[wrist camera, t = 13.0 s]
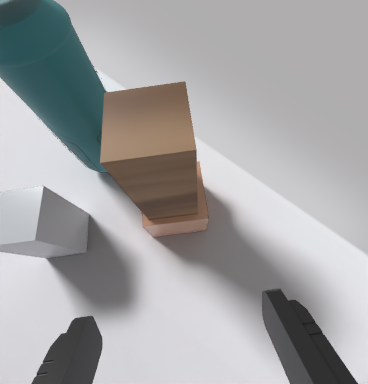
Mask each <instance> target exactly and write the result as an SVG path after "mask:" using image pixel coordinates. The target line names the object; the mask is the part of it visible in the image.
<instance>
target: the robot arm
mask: <svg viewBox="0 0 368 384" xmlns="http://www.w3.org/2000/svg"><path fill="white" fill-rule="evenodd" d="M262 315H263V320H264V324H265V327H266V329H267V331H268V334H269V336H270V338H271V341H272V343H273V345H274V348H275V350H276V352H277V354H278V357H279V359H280V361H281V364H282V366H283V368H284V371H285V373H286V375H287V377H288V380H289V382H290V384H358V383H357V382H356V380H355V379H354V378H353V376H352V375H351V373H350V372H349V370H348V369H347V368H346V366H345V365H344V363H343V362H342V360H341V359H340V357H339V356H338V354H337V353H336V351H335V350H334V348H333V347H332V346H331V344H330V343H329V341H328V340H327V338H326V337H325V335H323V333H322V331H321V329H320V328H319V326H318V325H317V324H316V323H315V321H314V319H313V318H312V316H311V315H310V313H309V312H308V310H307V309H306V308H305V307H303V306H302V305H301V304H300V303H299V302H297V301H296V300H289V301H288V300H287V298H286V297H285V295H284V294H283V292H282V291H281V289H272V290H265V291H263V293H262ZM101 351H102V336H101V334H100V331H99V329H98V327H97V324H96V322H95V320H94V318H93V316H87V317H80V318H75V319H74V320H73V321H72V322H71V324H70V326H69V328H68V330H67V333H63V334H61V335H60V336H59V337H58V338H57V340H56V341H55V342H54V343H53V344H52V346H51V347H50V349H49V351H48V353H47V355H46V357H45V358H44V360H43V364H41V366H40V368H39V370H38V372H37V376H36V377H35V378H34V380H33V382H32V384H92V383H93V379H94V376H95V372H96V369H97V365H98V362H99V359H100V355H101Z"/></svg>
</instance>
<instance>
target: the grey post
mask: <svg viewBox="0 0 368 384" xmlns="http://www.w3.org/2000/svg"><path fill="white" fill-rule="evenodd" d="M88 224H89V214H88V213H87V212H85V211H84V210H82V209H80V208H79V207H77V206H75V205H74V204H72V203H71V202H69V201H67V200H66V199H64V198H62V197H61V196H59V195H58V194H56V193H54V192H53V191H51V190H49V189H48V188H46V187H45V186H39V187H32V188H24V189H17V190H9V191H2V192H0V252H5V253H12V254H19V255H26V256H33V257H41V258H52V257H60V256H67V255H74V254H82V253H87V241H88Z"/></svg>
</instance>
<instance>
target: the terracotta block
mask: <svg viewBox="0 0 368 384" xmlns="http://www.w3.org/2000/svg"><path fill="white" fill-rule="evenodd" d="M197 197H198V214H192V215H184V216H176V217H168V218H161V219H153V220H148V218H147V217H146V216H145V215H144V214H143V213H142V221H143V228H144V229H145V230H146V231H147V232H148V233H149V234H150V235H151V236H152V237H158V236H166V235H174V234H182V233H190V232H198V231H206V229H207V225H208V220H209V216H208V210H207V204H206V198H205V192H204V186H203V180H202V175H201V169H200V163H199V162H197Z"/></svg>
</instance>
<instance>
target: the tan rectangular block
mask: <svg viewBox="0 0 368 384" xmlns="http://www.w3.org/2000/svg"><path fill="white" fill-rule="evenodd" d="M100 163H101V164H102V166H103V167H104V168H105V169H106V170H107V171H108V173H109V174H110V175H111V176H112V177H113V179H114V180H115V181H116V182H117V183H118V184H119V186H120V187H121V188H122V189H123V190H124V191H125V193H126V194H127V195H128V196H129V197H130V198H131V200H132V201H133V202H134V203H135V204H136V206H137V207H138V208H139V209H140V210H141V211H142V213H143V214H144V215H145V216H146V217H147V218H148V220H153V219H161V218H168V217H176V216H184V215H192V214H198V197H197V158H196V145H195V139H194V133H193V126H192V121H191V114H190V108H189V102H188V96H187V89H186V83H185V82H179V83H171V84H164V85H157V86H150V87H143V88H136V89H129V90H122V91H114V92H107V93H104V105H103V122H102V139H101V156H100Z"/></svg>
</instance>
